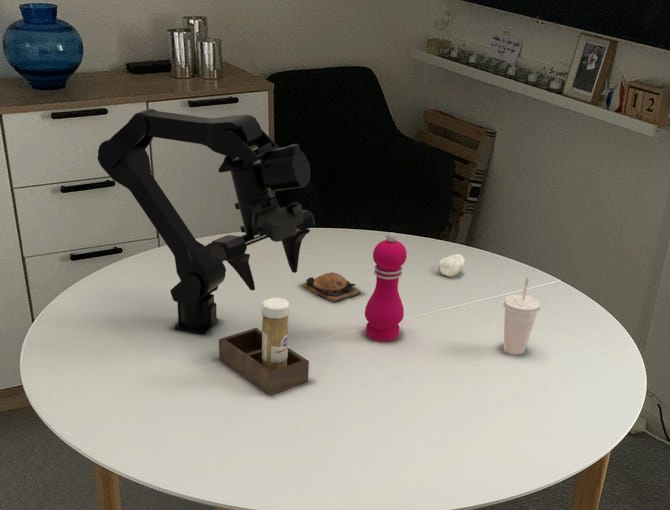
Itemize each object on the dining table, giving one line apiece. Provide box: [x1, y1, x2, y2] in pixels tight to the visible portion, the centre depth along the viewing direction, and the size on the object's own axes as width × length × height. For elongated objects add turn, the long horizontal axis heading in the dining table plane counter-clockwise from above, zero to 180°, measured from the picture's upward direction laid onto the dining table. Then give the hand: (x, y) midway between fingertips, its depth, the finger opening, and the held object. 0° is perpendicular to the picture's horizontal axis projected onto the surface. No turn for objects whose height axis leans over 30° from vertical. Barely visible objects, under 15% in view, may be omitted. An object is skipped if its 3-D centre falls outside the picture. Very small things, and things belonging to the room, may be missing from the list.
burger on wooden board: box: [302, 271, 362, 303], centre depth 183 cm, size 11×8×4 cm
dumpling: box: [438, 253, 466, 277], centre depth 192 cm, size 7×5×4 cm
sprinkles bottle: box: [261, 297, 290, 371], centre depth 148 cm, size 5×5×14 cm
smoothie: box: [502, 276, 542, 356], centre depth 158 cm, size 6×6×14 cm
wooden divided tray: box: [218, 327, 310, 396], centre depth 154 cm, size 15×8×4 cm, turn 35°
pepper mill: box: [364, 232, 408, 342], centre depth 162 cm, size 7×7×20 cm
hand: (273, 281), depth 156 cm, fingers open, 9 cm apart
